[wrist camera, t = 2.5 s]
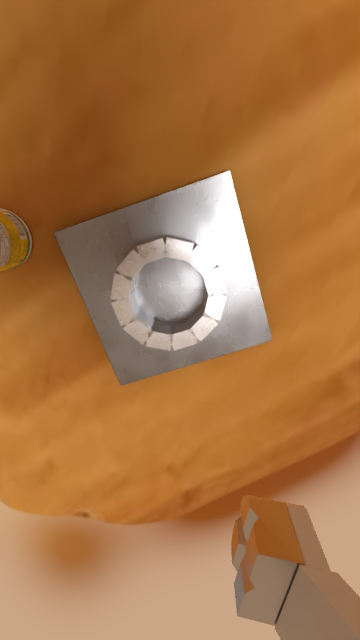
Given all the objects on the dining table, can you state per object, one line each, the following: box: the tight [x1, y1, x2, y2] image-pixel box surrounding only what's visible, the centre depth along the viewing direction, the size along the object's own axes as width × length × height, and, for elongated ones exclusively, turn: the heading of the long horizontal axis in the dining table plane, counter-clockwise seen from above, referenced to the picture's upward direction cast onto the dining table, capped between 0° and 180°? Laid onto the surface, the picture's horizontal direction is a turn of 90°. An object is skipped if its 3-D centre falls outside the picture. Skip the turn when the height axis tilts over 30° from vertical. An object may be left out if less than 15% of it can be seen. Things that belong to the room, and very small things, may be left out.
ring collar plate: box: [54, 171, 272, 385], centre depth 28 cm, size 16×16×4 cm
